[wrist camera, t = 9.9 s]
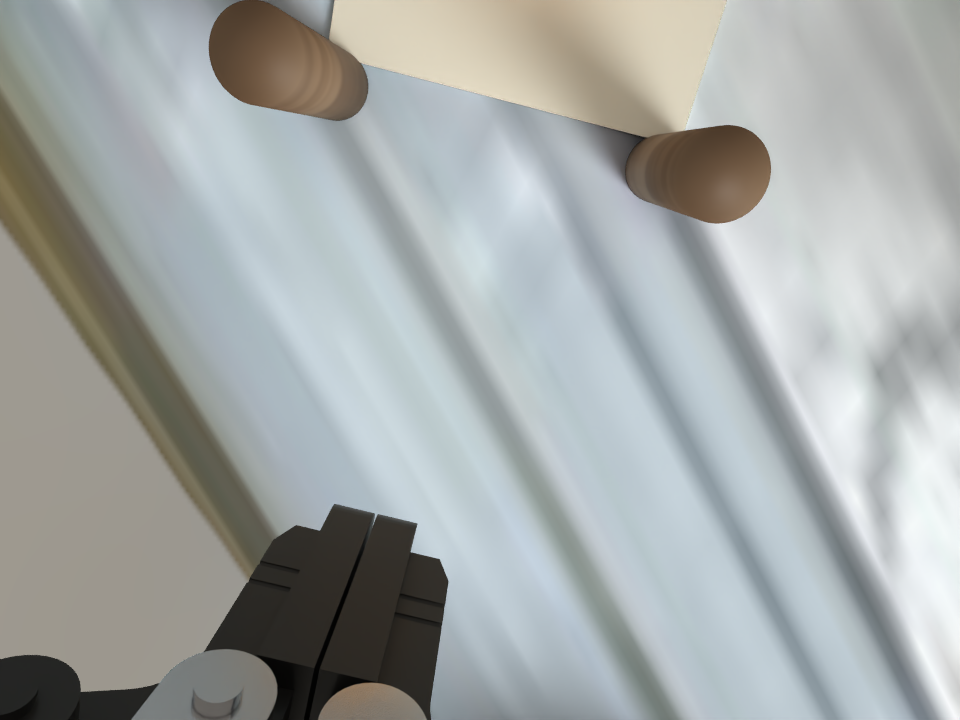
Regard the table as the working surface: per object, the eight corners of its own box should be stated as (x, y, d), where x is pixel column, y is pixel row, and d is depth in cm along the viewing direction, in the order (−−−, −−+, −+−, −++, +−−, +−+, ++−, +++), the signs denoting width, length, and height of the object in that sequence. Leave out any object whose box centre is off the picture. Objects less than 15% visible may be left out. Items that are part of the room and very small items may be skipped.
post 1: (373, 57, 24) (310, 13, 17) (361, 128, 25) (296, 116, 18) (307, 40, 24) (214, -12, 17) (297, 111, 25) (204, 92, 17)
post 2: (701, 143, 25) (785, 138, 17) (679, 209, 26) (750, 233, 18) (637, 126, 25) (693, 114, 17) (617, 193, 25) (661, 210, 18)
